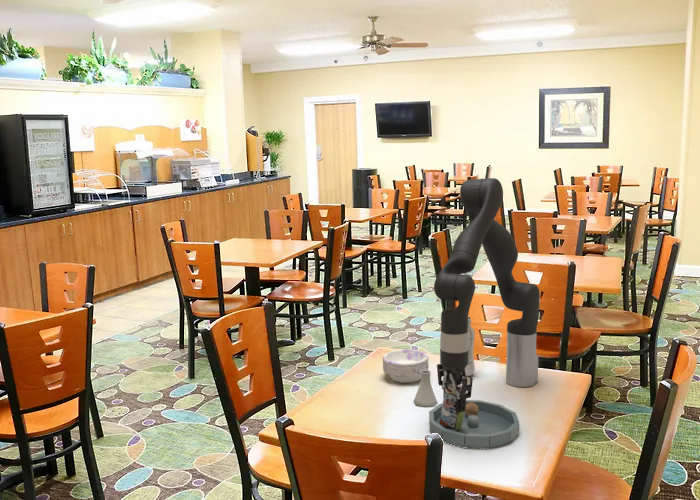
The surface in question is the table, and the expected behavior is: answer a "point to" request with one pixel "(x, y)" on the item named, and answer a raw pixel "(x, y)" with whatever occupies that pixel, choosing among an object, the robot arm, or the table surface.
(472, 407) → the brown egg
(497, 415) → the tray
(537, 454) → the table surface
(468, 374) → the plastic bottle
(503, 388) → the table surface
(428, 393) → the flask
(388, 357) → the paper bowls
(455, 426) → the beverage can
